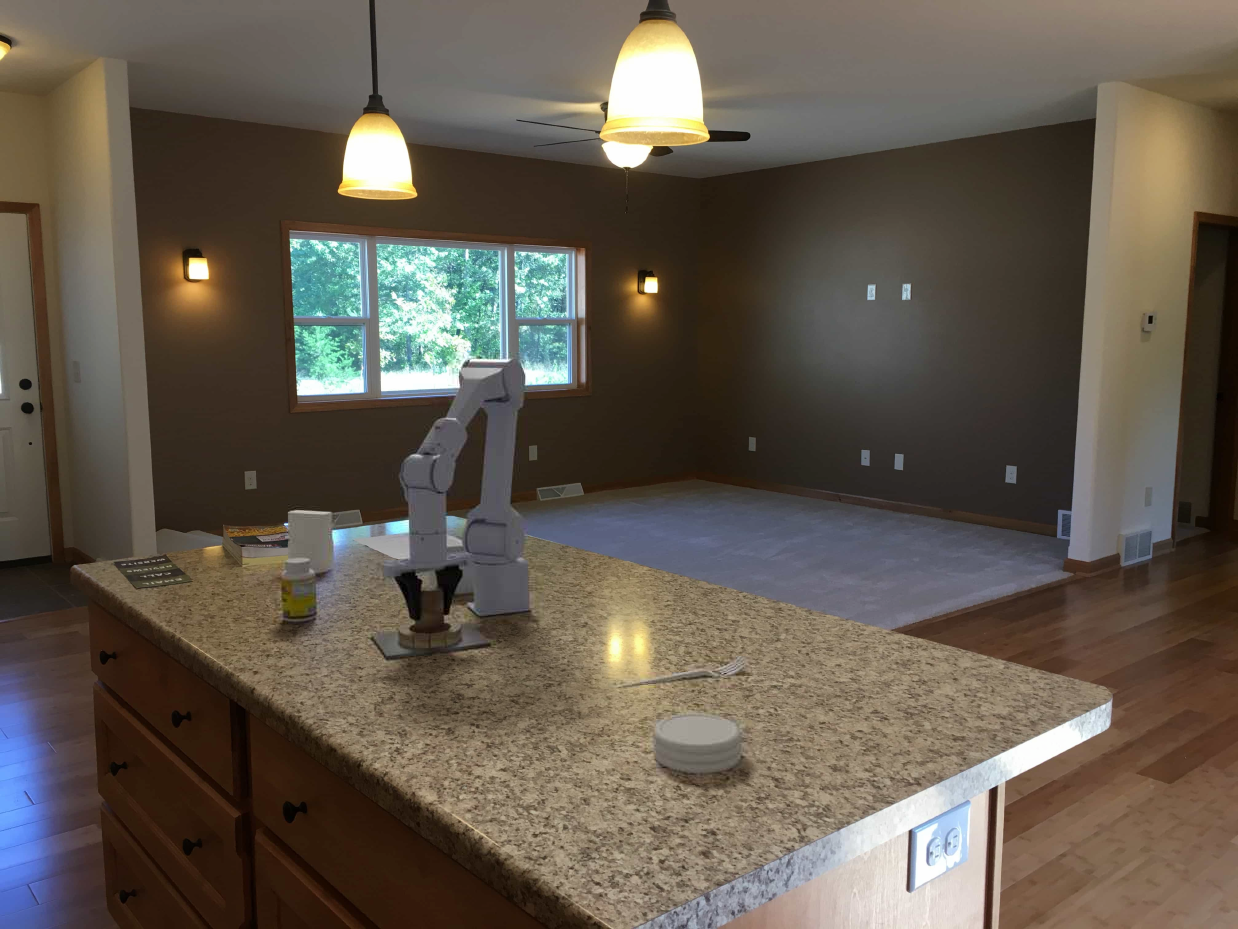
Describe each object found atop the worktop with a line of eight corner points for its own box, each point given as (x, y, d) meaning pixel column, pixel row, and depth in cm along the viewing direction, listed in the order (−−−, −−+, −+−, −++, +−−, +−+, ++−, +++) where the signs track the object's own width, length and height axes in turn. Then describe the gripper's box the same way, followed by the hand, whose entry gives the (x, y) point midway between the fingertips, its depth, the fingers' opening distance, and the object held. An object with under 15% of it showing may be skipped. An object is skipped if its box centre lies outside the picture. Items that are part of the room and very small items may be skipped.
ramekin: (489, 596, 181) (489, 560, 180) (419, 596, 181) (418, 559, 181) (499, 579, 194) (499, 545, 194) (434, 579, 195) (433, 545, 194)
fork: (611, 688, 135) (611, 675, 134) (739, 668, 142) (739, 655, 142) (620, 696, 132) (620, 683, 131) (750, 675, 139) (750, 662, 139)
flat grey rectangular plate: (468, 625, 162) (468, 612, 162) (490, 645, 151) (490, 631, 151) (371, 637, 155) (371, 623, 155) (387, 659, 144) (386, 644, 144)
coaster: (733, 739, 116) (734, 711, 116) (747, 776, 106) (748, 745, 106) (650, 740, 116) (650, 712, 115) (656, 777, 106) (656, 746, 105)
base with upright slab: (280, 572, 200) (277, 514, 199) (306, 563, 209) (304, 507, 207) (318, 575, 198) (315, 517, 196) (342, 565, 206) (341, 509, 205)
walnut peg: (435, 621, 156) (434, 584, 155) (449, 627, 153) (448, 589, 152) (409, 626, 153) (409, 588, 153) (423, 632, 150) (422, 594, 149)
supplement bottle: (283, 615, 168) (280, 557, 167) (316, 613, 169) (314, 555, 168) (282, 624, 162) (279, 564, 161) (317, 622, 164) (314, 562, 163)
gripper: (456, 522, 159) (458, 603, 160) (373, 532, 150) (375, 618, 151) (478, 528, 153) (479, 613, 155) (392, 539, 144) (395, 628, 146)
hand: (429, 616), depth 153 cm, fingers closed on walnut peg, 4 cm apart
